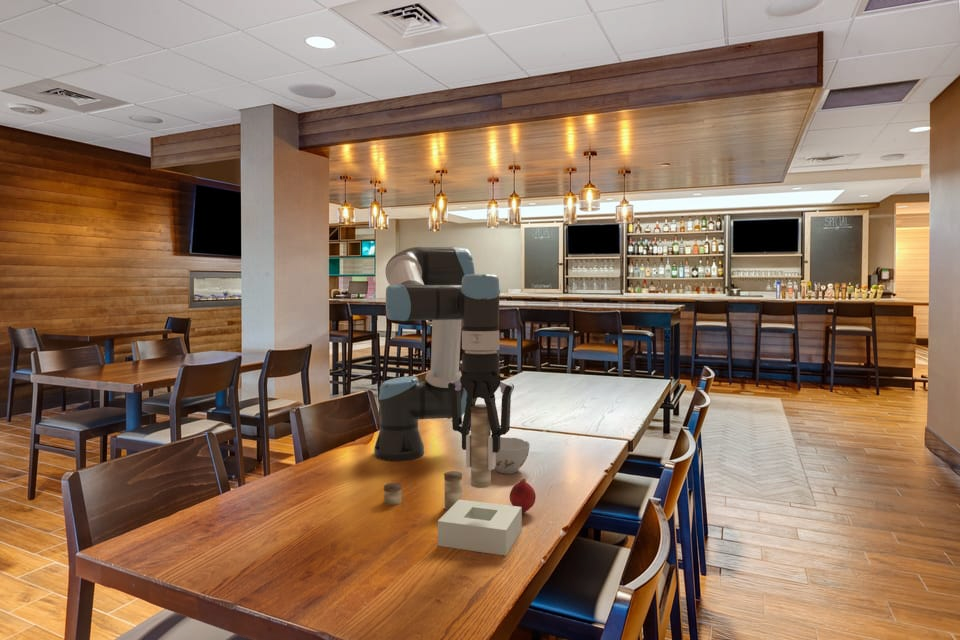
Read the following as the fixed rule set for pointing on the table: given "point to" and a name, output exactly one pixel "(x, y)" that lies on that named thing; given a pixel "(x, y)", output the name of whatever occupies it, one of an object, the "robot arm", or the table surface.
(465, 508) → the hole block
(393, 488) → the short dowel
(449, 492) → the medium dowel
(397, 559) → the table surface
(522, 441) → the teacup
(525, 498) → the onion
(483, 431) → the long dowel
